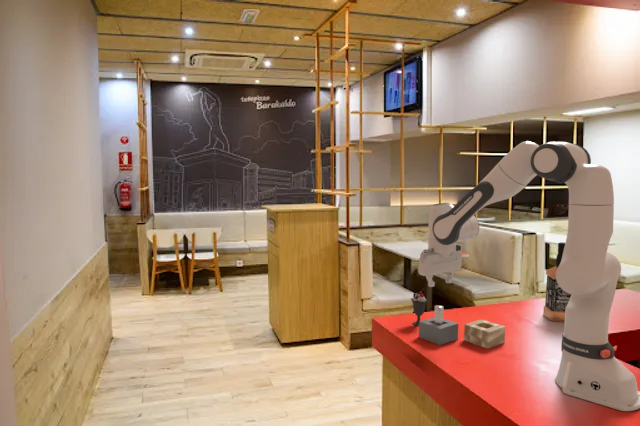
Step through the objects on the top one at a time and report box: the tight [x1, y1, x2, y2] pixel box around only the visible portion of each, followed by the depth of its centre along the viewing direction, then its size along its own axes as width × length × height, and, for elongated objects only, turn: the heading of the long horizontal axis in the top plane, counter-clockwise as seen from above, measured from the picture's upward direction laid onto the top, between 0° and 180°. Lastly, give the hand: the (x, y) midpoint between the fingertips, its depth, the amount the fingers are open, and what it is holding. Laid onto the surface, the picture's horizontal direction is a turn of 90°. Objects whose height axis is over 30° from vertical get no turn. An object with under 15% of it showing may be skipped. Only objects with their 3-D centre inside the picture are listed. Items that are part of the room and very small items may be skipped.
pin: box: [434, 304, 445, 326], centre depth 176 cm, size 3×3×12 cm
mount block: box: [463, 319, 506, 350], centre depth 173 cm, size 10×10×6 cm
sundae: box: [410, 288, 429, 327], centre depth 192 cm, size 7×7×15 cm
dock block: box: [418, 317, 459, 346], centre depth 177 cm, size 10×10×6 cm
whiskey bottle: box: [542, 242, 571, 323], centre depth 199 cm, size 10×10×32 cm
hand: (440, 284), depth 175 cm, fingers open, 8 cm apart
